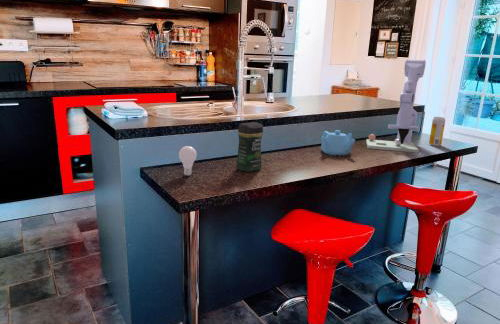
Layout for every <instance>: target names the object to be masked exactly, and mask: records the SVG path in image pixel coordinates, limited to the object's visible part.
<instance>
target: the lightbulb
mask: <svg viewBox="0 0 500 324" xmlns="http://www.w3.org/2000/svg"><path fill="white" fill-rule="evenodd" d="M197 154H198V153H197V150H196V149H195V148H194V147H193V146H189V145H185V146H183V147H181V148H180V150H179V152H178V158H179V160H180V162H181V163H182V165H183V166H182V167H183V173H184V174H183V175H185V176H186V177H187V176H191V175H192V168H193V165H194V162H195V161H196V159H197V156H198V155H197Z"/></svg>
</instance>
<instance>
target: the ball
mask: <svg viewBox="0 0 500 324" xmlns="http://www.w3.org/2000/svg"><path fill="white" fill-rule="evenodd" d="M368 139H369V140H371V141H373V140H376V134H374V133H370V134H369V135H368Z"/></svg>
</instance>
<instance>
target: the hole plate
mask: <svg viewBox="0 0 500 324" xmlns="http://www.w3.org/2000/svg"><path fill="white" fill-rule="evenodd" d="M365 142H366V147H367V149H370V150H371V149H372V150H383V151H384V150H386V151H394V152H395V151H396V152H406V153H417V154H418V153H419V148H418V147H417V145H416V144H415V143H414V142H412V143H407V142H403V144H401V145H400V146H397V145H396V144H395V140H394V141H391V140H381V139H380V140H378V139H374V140H373V141H371V140H369V138H366V141H365Z"/></svg>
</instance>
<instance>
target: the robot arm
mask: <svg viewBox="0 0 500 324" xmlns="http://www.w3.org/2000/svg"><path fill="white" fill-rule="evenodd" d="M426 64H427V61H426V59H424V60H423V59H422V60H421V59H406V60H405V62H404V68H403V69H404V77H406V78H407V80H406V81H405V82H404V85H403V89H402V93H400V96H399V110H398V112H397V116H396V124H388V125H387V128H388V129H389V130H390V129H391V130H397V136H396V138H394V141H396V140H397V139H401V144H403V142H407V143H413V142H412V136H413V131H416V132H417V131H420V126H417V121H418V112H417V110H415V109H414V103H415V99H416V92H417V86H418V82H419V80H420V78H423V77H424V75H425V69H426Z"/></svg>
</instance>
